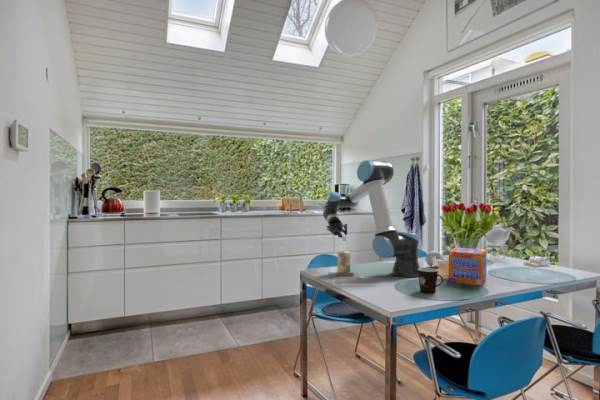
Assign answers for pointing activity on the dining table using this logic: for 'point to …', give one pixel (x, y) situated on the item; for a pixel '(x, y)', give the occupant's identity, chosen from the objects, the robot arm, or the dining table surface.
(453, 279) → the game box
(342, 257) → the birch block
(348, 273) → the mat
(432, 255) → the donut
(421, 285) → the coffee mug
